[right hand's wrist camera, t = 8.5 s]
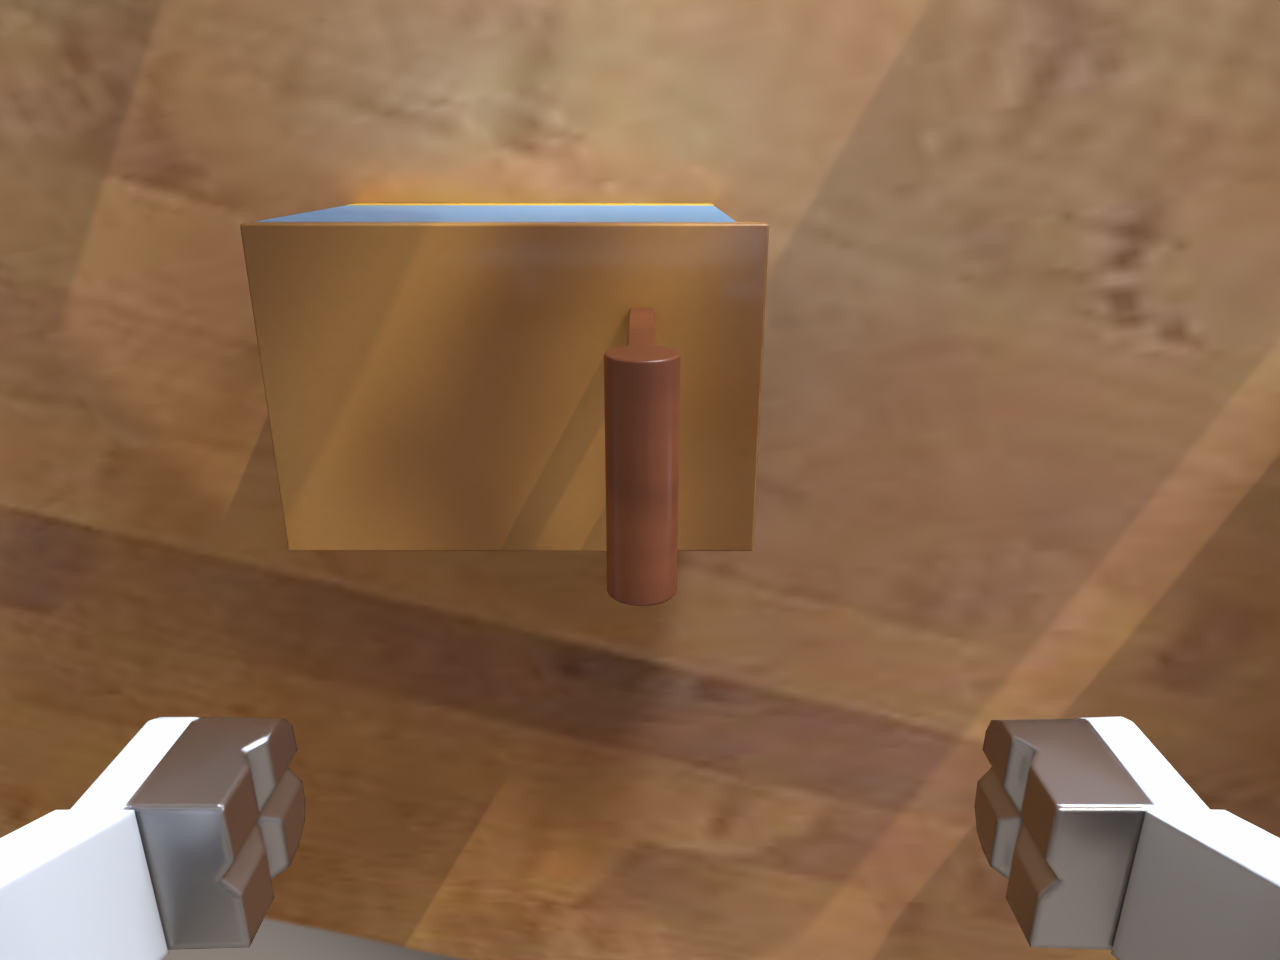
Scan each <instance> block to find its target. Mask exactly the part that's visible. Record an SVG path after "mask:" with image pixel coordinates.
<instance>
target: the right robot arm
mask: <svg viewBox="0 0 1280 960" xmlns="http://www.w3.org/2000/svg"><path fill="white" fill-rule="evenodd" d="M296 751H297V745H296V740H295V735H294V730H293V726H292V725H291V724H290V723H289V722H288V721H287V720H286V719H264V718H218V717H202V718H197V717H159V718H156V719H153V720H149V721H148V722H147V723H146V724H145V725H144V726H143V727H142V728H141V729H140V731H139V732H138V733H137V734H136V735H135V736H134V737H133V738H132V740H131V741H130V742H129V743H128V744H127V745H126V746H125V748H124V749H123V750H122V751H121V752H120V753H119V754H118V756H117V757H116V758H115V759H114V760H113V761H112V762H111V763H110V765H109V766H108V767H107V768H106V769H105V770H104V771H103V773H102V774H101V775H100V776H99V777H98V778H97V779H96V781H95V782H94V783H93V784H92V785H91V786H90V787H89V788H88V790H87V791H86V792H85V793H84V794H83V795H82V796H81V798H80V799H79V800H78V801H77V802H76V803H75V804H74V806H73V807H72V808H71V809H70V810H54V811H52V812H50V813H49V814H47V815H45V816H43V817H41V818H39V819H37V820H35V821H33V822H31V823H29V824H27V825H25V826H23V827H21V828H19V829H17V830H15V831H13V832H11V833H9V834H7V835H6V836H4V837H2V838H0V960H162V959H163V958H164V957H166V956H167V955H168V950H171V949H206V948H240V947H250V945H251V943H252V941H253V939H254V937H255V935H256V933H257V931H258V929H259V927H260V925H261V923H262V921H263V919H264V917H265V915H266V913H267V911H268V909H269V907H270V905H271V903H272V901H273V899H274V894H273V888H272V882H271V879H273V878H274V877H275V876H277V875H278V874H280V873H281V872H282V871H284V870H285V869H286V868H288V867H289V866H290V864H291V862H292V860H293V858H294V856H295V854H296V851H297V849H298V847H299V844H300V839H301V835H302V830H303V826H304V821H305V796H304V789H303V782H302V781H301V780H300V779H299V778H298V777H297V776H296V775H295V774H294V773H293V772H292V771H291V770H290V769H289V768H288V766H289V764H290V762H291V760H292V759H293V757H294V755H295V753H296ZM983 751H984V753H985V755H986V757H987V759H988V760H989V762H990V764H991V766H992V768H991V769H990V770H989V771H988V772H987V773H986V774H985V775H984V776H983V777H982V778H981V779H980V780H979V781H978V782H977V790H976V799H975V816H976V827H977V833H978V836H979V840H980V843H981V846H982V849H983V852H984V854H985V856H986V858H987V860H988V862H989V864H990V866H991V867H992V868H994V869H995V870H996V871H998V872H999V873H1001V874H1002V875H1003V876H1005V877H1006V878H1007V879H1009V882H1008V888H1007V894H1006V899H1007V901H1008V903H1009V905H1010V907H1011V909H1012V911H1013V913H1014V915H1015V917H1016V919H1017V921H1018V923H1019V925H1020V927H1021V929H1022V931H1023V933H1024V935H1025V937H1026V939H1027V941H1028V943H1029V945H1030V947H1038V948H1073V949H1108V950H1112V952H1111V954H1113V955H1114V956H1115V957H1116V958H1117V959H1118V960H1280V838H1278V837H1276V836H1274V835H1272V834H1270V833H1269V832H1267V831H1265V830H1263V829H1261V828H1259V827H1257V826H1255V825H1253V824H1251V823H1249V822H1247V821H1245V820H1243V819H1241V818H1239V817H1237V816H1235V815H1233V814H1231V813H1230V812H1228V811H1226V810H1210V809H1209V808H1208V807H1207V806H1206V804H1205V803H1204V802H1203V801H1202V800H1201V799H1200V798H1199V796H1198V795H1197V794H1196V793H1195V792H1194V791H1193V790H1192V789H1191V787H1190V786H1189V785H1188V784H1187V783H1186V782H1185V781H1184V779H1183V778H1182V777H1181V776H1180V775H1179V774H1178V773H1177V771H1176V770H1175V769H1174V768H1173V767H1172V766H1171V765H1170V764H1169V762H1168V761H1167V760H1166V759H1165V758H1164V757H1163V756H1162V754H1161V753H1160V752H1159V751H1158V750H1157V749H1156V748H1155V746H1154V745H1153V744H1152V743H1151V742H1150V741H1149V740H1148V739H1147V737H1146V736H1145V735H1144V734H1143V733H1142V732H1141V731H1140V729H1139V728H1138V727H1137V726H1136V725H1135V724H1134V723H1133V722H1132V721H1130V720H1128V719H1126V718H1124V717H1122V716H1120V717H1088V718H1078V719H1031V720H991V722H990V724H989V726H988V728H987V730H986V733H985V739H984V745H983Z"/></svg>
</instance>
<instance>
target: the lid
mask: <svg viewBox="0 0 1280 960" xmlns="http://www.w3.org/2000/svg"><path fill="white" fill-rule="evenodd" d="M240 228H241V234H242V241H243V248H244V254H245V261H246V268H247V275H248V281H249V288H250V295H251V301H252V308H253V315H254V321H255V328H256V335H257V342H258V348H259V355H260V362H261V368H262V375H263V382H264V388H265V395H266V402H267V408H268V415H269V422H270V429H271V435H272V442H273V449H274V455H275V462H276V469H277V475H278V482H279V489H280V495H281V502H282V509H283V516H284V522H285V529H286V536H287V542H288V549H289V550H290V551H606V553H607V591H608V593H609V595H610V596H611V597H612V598H613V599H615V600H617V601H619V602H621V603H624V604H629V605H636V606H648V605H655V604H660V603H663V602H665V601H667V600H669V599H670V598H672V597H673V596H674V594H675V593H676V590H677V551H752V550H753V543H754V523H755V503H756V482H757V462H758V441H759V421H760V400H761V380H762V360H763V339H764V319H765V298H766V278H767V257H768V237H769V225H768V224H766V223H764V222H249V223H243V224H241V226H240Z"/></svg>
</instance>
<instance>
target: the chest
mask: <svg viewBox="0 0 1280 960" xmlns="http://www.w3.org/2000/svg"><path fill="white" fill-rule="evenodd" d="M255 222H736V221H734V220H733V219H732V218H730V217H729V216H727V215H726V214H724V213H723V212H722V211H720V210H719V209H717V208H716V207H714V205H713V204H349V205H346V206H340V207H335V208H329V209H323V210H317V211H312V212H306V213H300V214H294V215H289V216H283V217H277V218H271V219H266V220H260V221H255Z"/></svg>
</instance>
